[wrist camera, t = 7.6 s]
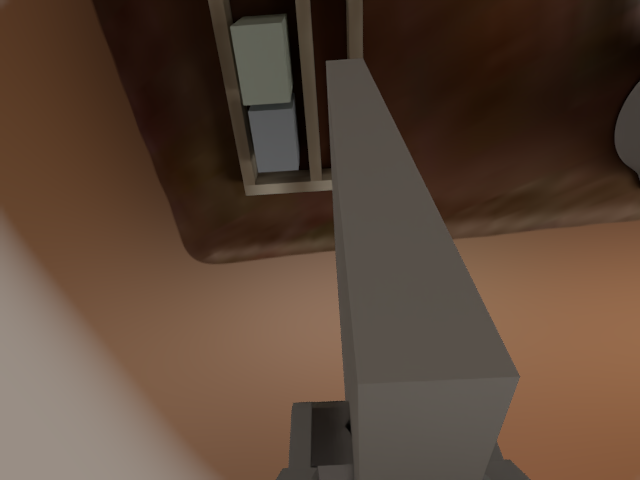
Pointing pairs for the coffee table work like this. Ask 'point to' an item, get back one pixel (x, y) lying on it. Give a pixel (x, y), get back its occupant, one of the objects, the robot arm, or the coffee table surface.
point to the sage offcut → (263, 58)
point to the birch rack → (239, 113)
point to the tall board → (406, 306)
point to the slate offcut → (275, 136)
